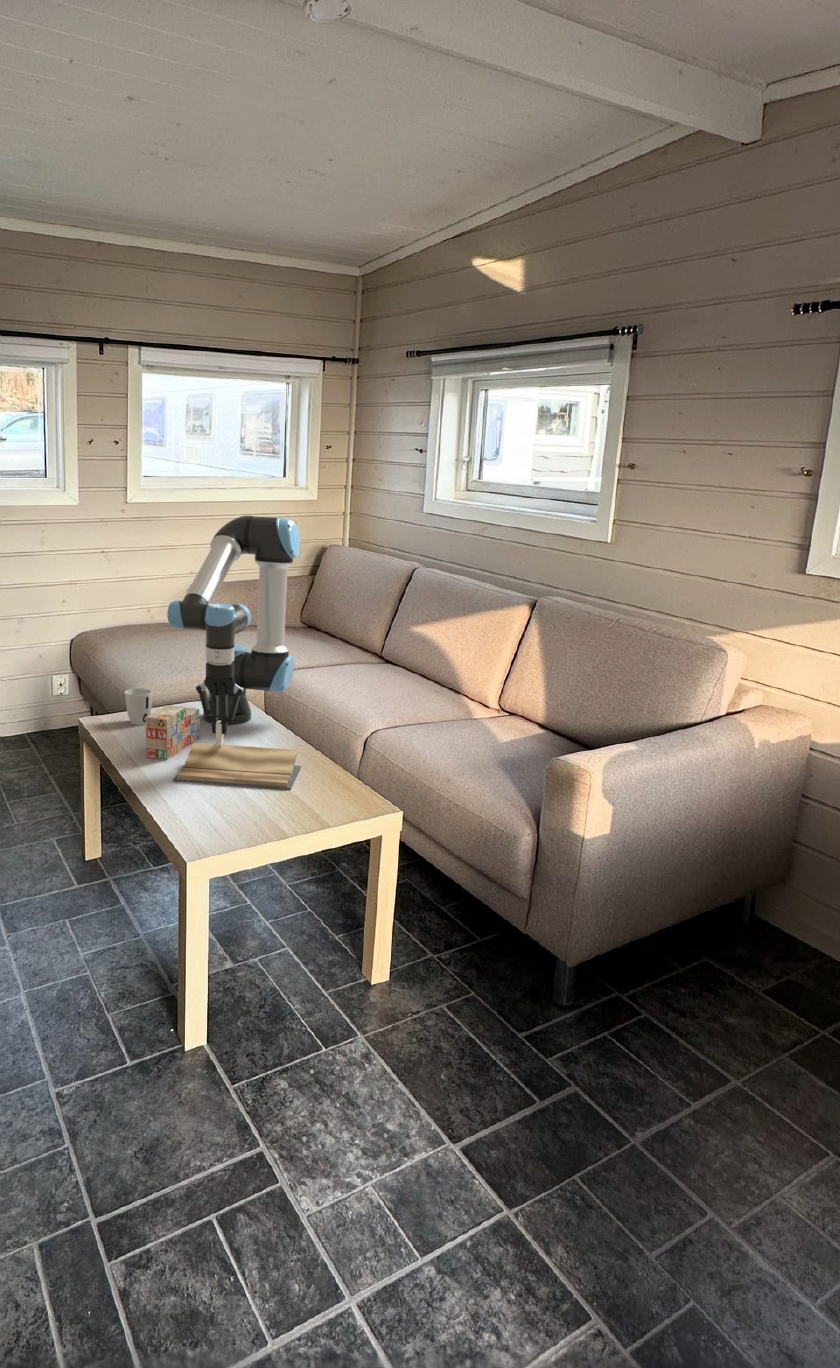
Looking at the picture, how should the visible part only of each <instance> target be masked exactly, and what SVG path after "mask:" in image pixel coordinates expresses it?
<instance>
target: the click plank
mask: <svg viewBox="0 0 840 1368" xmlns="http://www.w3.org/2000/svg"><path fill="white" fill-rule="evenodd" d="M297 757H298V749H287V748H286V749H285V748H274V747H273V748H272V747H259V746H244V745H228V744H222V746H216V743H215V744H213V743H200V742H193V743H192V745H191V747H190V750H189V753H188V755H187V757H186V759H185V762H184V765H183V767H184V768H194V769H208V770H223V771H237V772H251V773H265V774H279V775H291V777H292V773H293V769H294V765H296V762H297V761H296V760H297Z"/></svg>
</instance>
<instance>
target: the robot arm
mask: <svg viewBox="0 0 840 1368" xmlns="http://www.w3.org/2000/svg"><path fill="white" fill-rule="evenodd" d="M209 547H210V550H209V551H208V554H207V555H206V558H205V560H204V561H203V563H202V565H201V566H200V568H199V570H198V572H197V573H196V575H195V577H194V580H193V582H192V583H191V585H190V586H189V588H188V590H187V592H186V594H185V596H184V597H183V599H182V600H181V599H180V600H173V601H171V602H170V603H169V605H168V607H167V611H166V612H167V614H166V616H167V621H168V624H169V625H170V626H171V627H173V628H177V629H182V630H195V631H205V661H207V662H206V663H205V679H204V680H203V682H202V683H198V685H197V686H196V687H195V690H196V691H197V693H198V695H199V698H200V703H201V706H202V710H203V714H202V716H203V717H202V718H203V720H204V721H206V722H208V723H211V730H212V731H211V732H212V734H214V735H215V744H216V746H222V745H224V743H225V742H224V738H225V737H224V735H226V734H227V732H228V725H238V724H244V723H246V722H249V721H250V720H251V719H252V709H251V707H250V706H251V705H250V703H249V700H248V696H247V690H254V691H262V692H263V691H264V692H270V693H275V692H276V693H283V692H285V691H287V689H288V688H289V686H290V685H291V682H292V679H293V676H294V674H295V673H294V672H295V664H296V663H295V658H294V656H291V655H290V654H289V653H290V652H289V651H290V649H289V648H288V647H287V646H286V644H285V640H286V639H285V637H286V636H285V634H286V615H287V613H286V612H287V609H286V608H287V606H286V605H287V589H288V570H289V568H290V566H292V565H293V562H294V559H295V558H297V557H298V556H299V555H300V549H301V538H300V532H299V529H298V526H297V524H296V523H295V522H294V521H293V520H291V519H290V518H289V519H288V518H282V517H269V516H255V515H254V516H253V515H242V516H239V517H235V518H233V519H232V520H230V521H228V522H227V523H226V524H224V525H223V526H222V527H221V528H220V529H218V531H217V532H216V533H214V536H213V537H212V539H211V541H210V546H209ZM248 554H249V555H253V556H254V562H255V563H256V564H257V565H258V566H259V572H258V573H259V575H258V578H259V579H258V601H257V602H258V604H257V629H256V643H255V644H254V645H253V646H252V647H251V652H248V649H247V646H244V645H235V636H236V635H237V634H239V633H241V632H243V631H244V630H246V629H247V628H248V626H250V624H251V622H252V614H251V611H250V609H249V608H248V607H247V606H246V605H244V604H242V603H233V604H229V603H213V602H214V600H215V598H216V597H217V594H218V593H219V591H220V588H221V587H222V585H223V583H224V581H225V578H226V577H227V575H228V573H229V571H230V569H231V567H232V565H233V564H234V562H235V561H238V560H239V559H240V557H241V556H242V555H248ZM207 690H208V693H207Z"/></svg>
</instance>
